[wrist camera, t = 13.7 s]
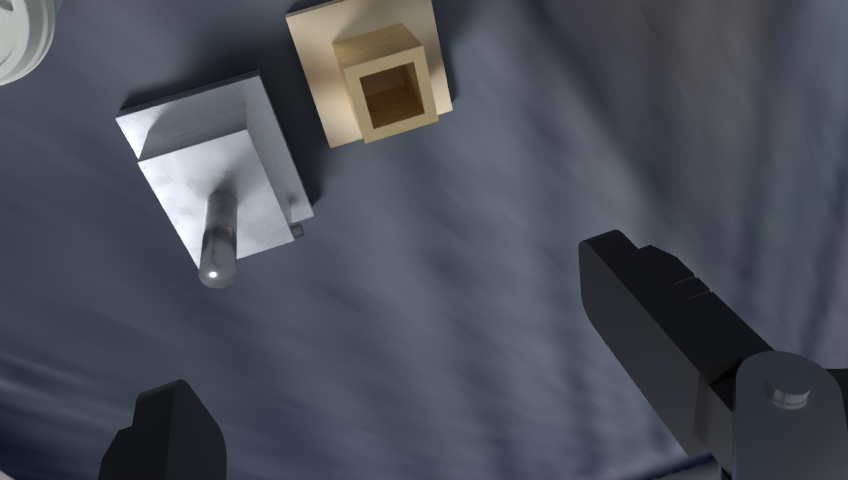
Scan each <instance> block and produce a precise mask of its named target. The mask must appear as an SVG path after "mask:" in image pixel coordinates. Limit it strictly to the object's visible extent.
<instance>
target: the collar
mask: <svg viewBox="0 0 848 480" xmlns="http://www.w3.org/2000/svg"><path fill="white" fill-rule="evenodd" d="M331 44H332V47H333V51H334V54H335V57H336V61H337V64H338V67H339V70H340V74H341V77H342V80H343V84H344V87H345V90H346V94H347V97H348V100H349V104H350V107H351V110H352V113H353V115H354V118H355V120H356V123H357V125H358V127H359V130H360V132H361V135H362V137H363V139H364V142H365V143H369V142H372V141H375V140H378V139H382V138H385V137H388V136H391V135H395V134H398V133H401V132H404V131H407V130H411V129H414V128H417V127H420V126H424V125H427V124H430V123H433V122H437V121H439V120H438V115H437V110H436V105H435V100H434V95H433V91H432V86H431V81H430V76H429V71H428V67H427V62H426V57H425V52H424V47H423V45H422V44H421V43H420V42H419V40H418V39H417V38H416V37H415V36H414V35H413V34H412V33H411V32H410V31H409V30H408V29H407V27H406V26H405V25H404V24H403V23H399V24H395V25H392V26H389V27H385V28H382V29H378V30H375V31H371V32H368V33H364V34H361V35H358V36H354V37H351V38H347V39H344V40H340V41H337V42H334V43H331ZM400 65H401V69H402V74H403V78H404V82H405V85H401V86H398V87H395V88H391V89H388V90H385V91H381V92H378V93H375V94H371V95H368V96H365V97H364V93H363V90H362V86H361V83H360V79H359V78H360V77H363V76H367V75H370V74H373V73H377V72H380V71H383V70H387V69H390V68H393V67H397V66H400Z"/></svg>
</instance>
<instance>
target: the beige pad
mask: <svg viewBox="0 0 848 480" xmlns="http://www.w3.org/2000/svg"><path fill="white" fill-rule="evenodd" d="M285 17H286V20H287V23H288V26H289V29H290V32H291V35H292V38H293V41H294V44H295V47H296V50H297V52H298V55H299V58H300V61H301V64H302V67H303V70H304V73H305V76H306V79H307V82H308V84H309V87H310V90H311V93H312V96H313V99H314V102H315V105H316V108H317V111H318V114H319V116H320V119H321V122H322V125H323V128H324V131H325V134H326V137H327V140H328V143H329V146H330V148H333V147H336V146H340V145H343V144H346V143H349V142H353V141H356V140H359V139H362V138H363V137H362V135H361V132H360V130H359V127H358V125H357V123H356V120H355V118H354V115H353V113H352V110H351V107H350V104H349V100H348V97H347V94H346V90H345V87H344V84H343V80H342V77H341V74H340V70H339V67H338V64H337V61H336V57H335V54H334V51H333V47H332V44H331V43H334V42H337V41H340V40H344V39H347V38H351V37H354V36H358V35H361V34H364V33H368V32H371V31H375V30H378V29H382V28H385V27H389V26H392V25H395V24H399V23H403V24H404V25H405V26H406V27H407V29H408V30H409V31H410V32H411V33H412V34H413V35H414V36H415V37H416V38H417V39H418V40H419V42H420V43H421V44H422V45H423V47H424V52H425V57H426V62H427V67H428V71H429V76H430V81H431V86H432V91H433V95H434V100H435V105H436V110H437V115H439V114H442V113H445V112H449V111H452V105H451V100H450V95H449V90H448V85H447V80H446V74H445V69H444V64H443V59H442V54H441V49H440V43H439V38H438V33H437V28H436V23H435V18H434V12H433V7H432V2H431V0H333V1H330V2H326V3H323V4H320V5H316V6H313V7H309V8H306V9H302V10H299V11H295V12H292V13H288V14H285ZM359 79H360V83H361V86H362V90H363V93H364V97H365V96H368V95H371V94H375V93H378V92H381V91H385V90H388V89H391V88H395V87H398V86H401V85H405V82H404V78H403V74H402V69H401V65H400V66H397V67H393V68H390V69H387V70H383V71H380V72H377V73H373V74H370V75H367V76H363V77H360V78H359Z"/></svg>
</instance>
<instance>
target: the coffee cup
mask: <svg viewBox="0 0 848 480" xmlns="http://www.w3.org/2000/svg"><path fill="white" fill-rule="evenodd" d="M63 2H64V0H0V86H1V85H4V84H7V83H10V82H12V81H15V80H17V79H19V78H21V77H23V76H25V75H26V74H28V73H29V72H30V71H32V70H33V69H34V68H35V67H36V66H37V65H38V64H39V63H40V62H41V61H42V59H43V58H44V56H45V55H46V53H47V51H48V49H49V47H50V45H51V42H52V38H53V34H54V27H55V19H56V17H57V15H58V13H59V11H60V9H61V6H62V4H63Z"/></svg>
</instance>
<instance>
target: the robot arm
mask: <svg viewBox="0 0 848 480" xmlns="http://www.w3.org/2000/svg"><path fill="white" fill-rule="evenodd" d="M579 267H580V284H581V298H582V302H583V306H584V309H585V311H586V314H587V316H588V318H589V320H590V322H591V324H592V325H593V326H594V328H595V329H596V331H597V332H598V333H599V335H600V336H601V337H602V339H603V340H604V342H605V343H606V344H607V346H608V347H609V348H610V350H611V351H612V352H613V354H614V355H615V357H616V358H617V359H618V361H619V362H620V363H621V365H622V366H623V367H624V369H625V370H626V372H627V373H628V374H629V376H630V377H631V378H632V380H633V381H634V382H635V384H636V385H637V387H638V388H639V389H640V391H641V392H642V393H643V395H644V396H645V398H646V399H647V400H648V402H649V403H650V404H651V406H652V407H653V408H654V410H655V411H656V413H657V414H658V415H659V417H660V418H661V419H662V421H663V422H664V423H665V425H666V426H667V428H668V429H669V430H670V432H671V433H672V434H673V436H674V437H675V439H676V440H677V441H678V443H679V444H680V445H681V447H682V448H683V449H684V451H685V452H686V454H687V455H688V456H689V457H690V456H693V455H696V454H698V453H701V452H703V451H706V450H708V449H709V451H710V452H711V453H712V454H713V456H714V457H715V458H716V460H717V461H718V462H719V464H720V465H719V477H718V480H848V368H847V369H825V368H823V367H822V366H821V365H819V364H818V363H816V362H814V361H812V360H810V359H808V358H806V357H803V356H801V355H797V354H794V353H789V352H783V351H775V350H774V349H773V348H772V347H770V346H769V345H768V344H767V343H766V342H765V341H764V340H763V339H762V338H761V337H760V336H759V335H758V334H757V333H755V332H754V331H753V330H752V329H751V328H750V327H749V326H748V325H747V324H746V323H745V322H744V321H743V320H742V319H741V318H740V317H739V316H738V315H737V314H736V313H734V312H733V311H732V310H731V309H730V308H729V307H728V306H727V305H726V304H725V303H724V302H723V301H722V300H721V299H720V298H719V297H718V296H717V295H716V294H715V293H714V292H710V290H709V288H708V287H707V286H706V285H705V284H704V283H703V282H702V281H701V280H700V279H699V278H695V276H694V273H693V272H691V271H690V270H689V269H688V268H687V267H686V266H685V265H684V264H683V263H682V262H681V261H680V260H679V259H678V258H677V257H676V256H673V255H671V254H669V253H667V252H665V251H663V250H660V249H658V248H656V247H654V246H652V245H649V246H646V247H643V248H640V249H638V248H637V247H636V246H635V245H634V244H633V243H632V242H631V241H630V240H629V239H628V238H627V237H626V236H625V235H624V234H623V233H622V232H621V231H619V230H612V231H609V232H607V233H604V234H601V235H598V236H595V237H592V238H589V239H586V240H584V241H581V242H580V243H579ZM226 465H227V455H226V446H225V442H224V438H223V435H222V432H221V430H220V428H219V426H218V424H217V423H216V421H215V420H214V419H213V417H212V416H211V415H210V413H209V412H208V410H207V409H206V408H205V406H204V405H203V404H202V402H201V401H200V399H199V398H198V397H197V395H196V394H195V393H194V391H193V390H192V388H191V387H190V386H189V384H188V383H187V382H186V381H184V380H182V379H180V380H177V381H174V382H171V383H168V384H165V385H162V386H160V387H157V388H154V389H151V390H148V391H145V392H142V393H141V394H139V396H138V398H137V401H136V406H135V412H134V418H133V423H132V426H130V427H128V428H125V429H122V430H119V431H118V433H117V434H116V436H115V438H114V440H113V441H112V443H111V445H110V446H109V448H108V450H107V452H106V453H105V455H104V457H103V458H102V462H101V467H100V472H99V477H98V480H226Z"/></svg>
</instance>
